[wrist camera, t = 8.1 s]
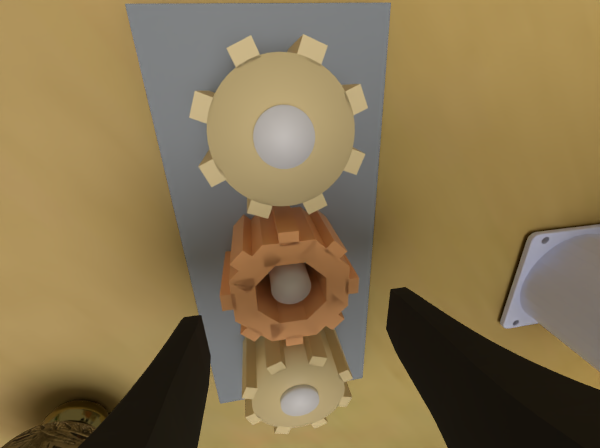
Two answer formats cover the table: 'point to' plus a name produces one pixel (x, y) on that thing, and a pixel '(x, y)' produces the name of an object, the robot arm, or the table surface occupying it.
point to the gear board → (184, 142)
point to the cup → (63, 427)
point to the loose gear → (282, 251)
